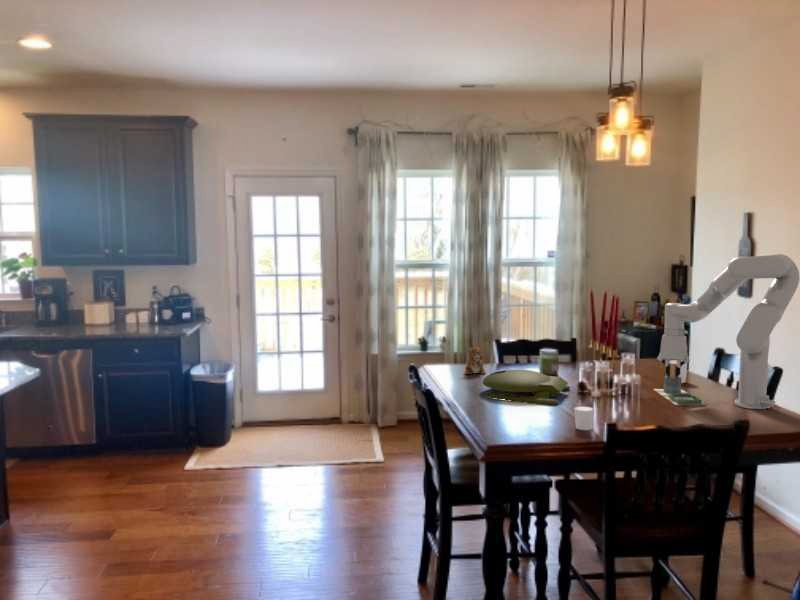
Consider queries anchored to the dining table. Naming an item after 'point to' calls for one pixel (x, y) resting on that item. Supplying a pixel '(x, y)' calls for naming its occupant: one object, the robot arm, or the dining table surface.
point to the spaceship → (526, 386)
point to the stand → (678, 393)
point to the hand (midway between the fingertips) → (672, 375)
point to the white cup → (681, 370)
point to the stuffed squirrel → (475, 362)
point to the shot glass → (584, 417)
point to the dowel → (672, 371)
